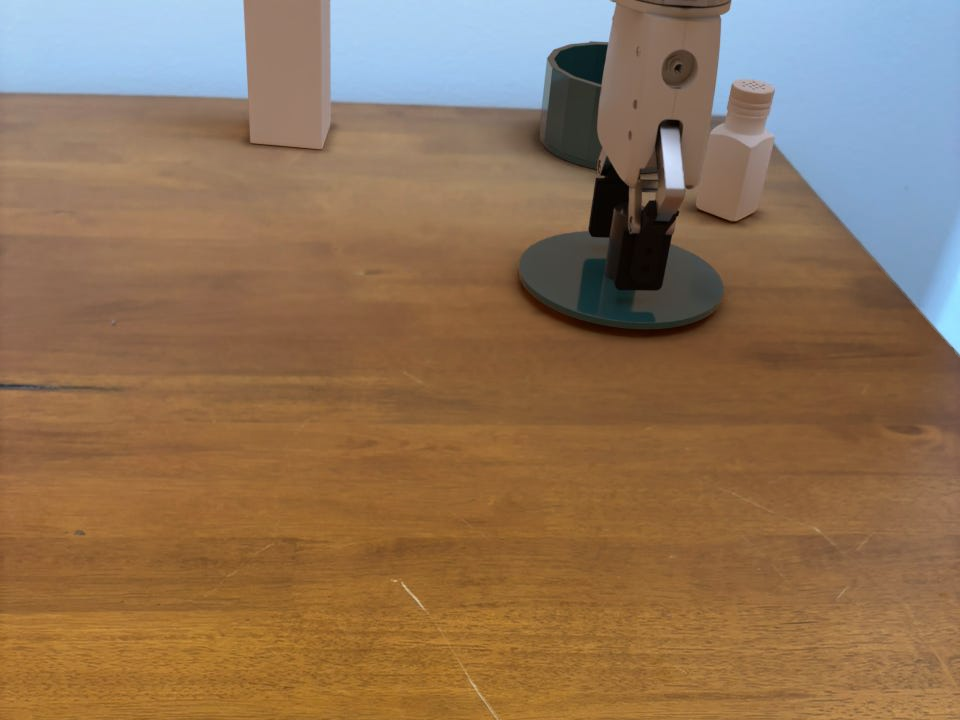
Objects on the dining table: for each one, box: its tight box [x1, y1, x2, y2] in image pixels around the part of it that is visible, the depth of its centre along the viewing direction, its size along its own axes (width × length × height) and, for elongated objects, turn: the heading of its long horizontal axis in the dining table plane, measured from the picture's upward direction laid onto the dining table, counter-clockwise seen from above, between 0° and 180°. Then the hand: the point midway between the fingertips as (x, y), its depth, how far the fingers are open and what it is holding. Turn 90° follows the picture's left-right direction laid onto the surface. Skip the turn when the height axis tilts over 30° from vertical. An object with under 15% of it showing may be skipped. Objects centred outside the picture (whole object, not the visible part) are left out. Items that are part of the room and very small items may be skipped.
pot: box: [538, 40, 655, 174], centre depth 102 cm, size 13×19×6 cm
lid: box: [517, 203, 725, 330], centre depth 80 cm, size 14×14×6 cm
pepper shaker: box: [695, 78, 776, 222], centre depth 91 cm, size 4×4×10 cm
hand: (623, 259), depth 81 cm, fingers open, 7 cm apart
